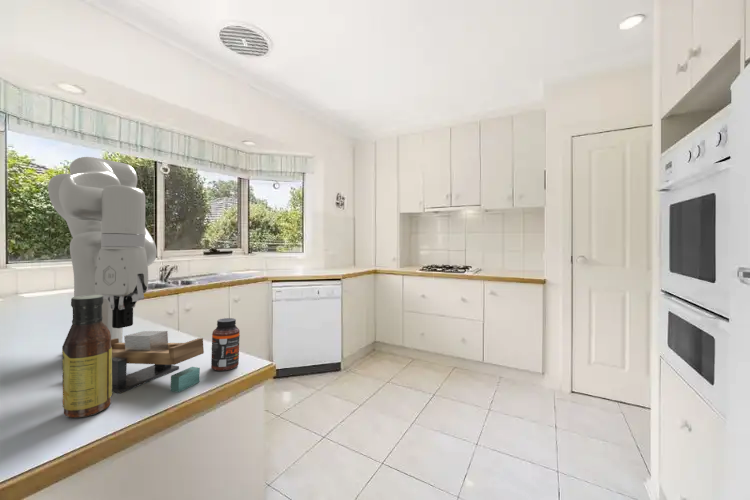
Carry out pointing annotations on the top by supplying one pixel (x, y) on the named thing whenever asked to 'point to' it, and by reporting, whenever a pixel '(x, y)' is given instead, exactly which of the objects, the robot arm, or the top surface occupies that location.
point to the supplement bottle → (225, 345)
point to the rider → (147, 341)
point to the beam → (159, 353)
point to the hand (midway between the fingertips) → (122, 326)
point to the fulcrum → (151, 376)
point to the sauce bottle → (87, 360)
